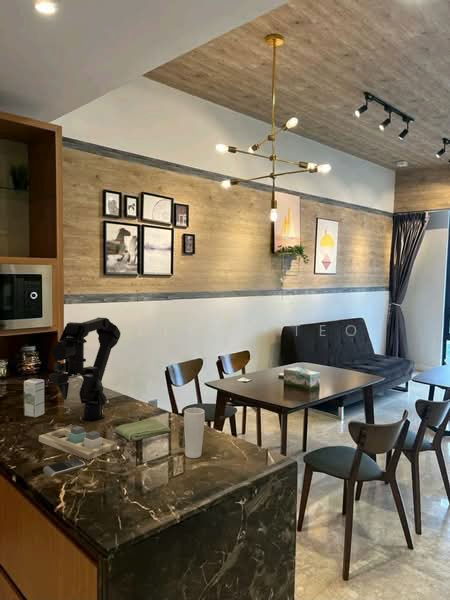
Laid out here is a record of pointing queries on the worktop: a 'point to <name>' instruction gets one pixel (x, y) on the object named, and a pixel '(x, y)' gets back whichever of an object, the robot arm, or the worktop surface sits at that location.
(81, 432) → the teal plug
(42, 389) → the syrup box
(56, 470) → the cell phone
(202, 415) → the drinking glass
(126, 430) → the washcloth
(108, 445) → the wooden grid tray
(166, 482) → the worktop surface
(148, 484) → the worktop surface
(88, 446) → the off-white plug
